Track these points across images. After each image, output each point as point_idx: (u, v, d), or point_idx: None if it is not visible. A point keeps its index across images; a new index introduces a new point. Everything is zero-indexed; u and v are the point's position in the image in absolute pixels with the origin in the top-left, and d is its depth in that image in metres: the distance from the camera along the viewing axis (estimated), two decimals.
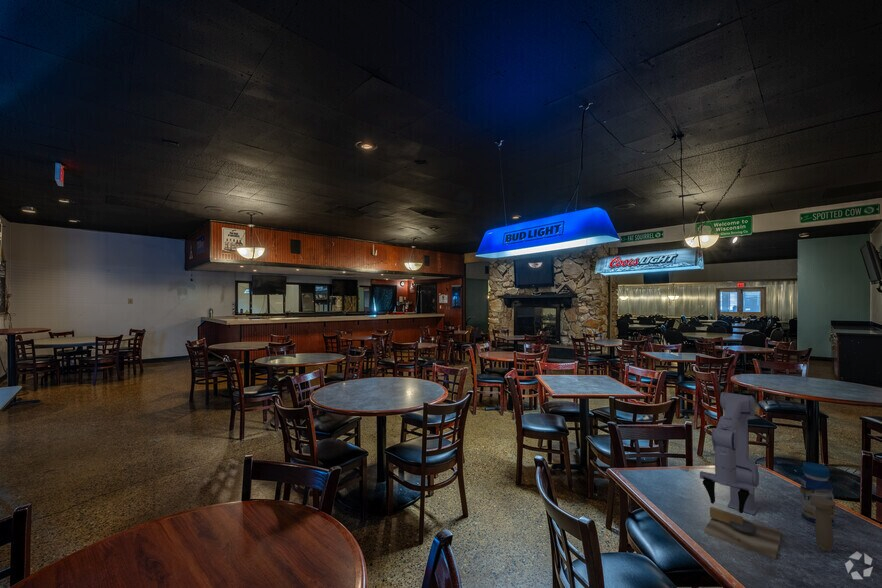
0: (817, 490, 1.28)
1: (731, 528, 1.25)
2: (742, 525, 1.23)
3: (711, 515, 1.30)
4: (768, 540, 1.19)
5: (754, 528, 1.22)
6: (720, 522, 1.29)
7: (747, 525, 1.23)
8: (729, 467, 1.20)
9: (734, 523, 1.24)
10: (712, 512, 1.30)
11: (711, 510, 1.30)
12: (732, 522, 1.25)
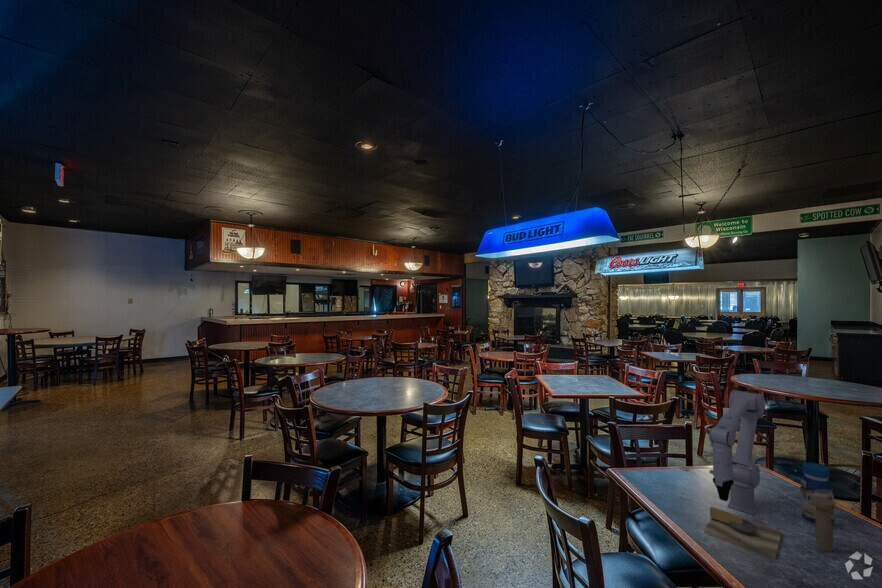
0: (817, 490, 1.28)
1: (731, 528, 1.25)
2: (742, 525, 1.23)
3: (711, 515, 1.30)
4: (768, 540, 1.19)
5: (754, 528, 1.22)
6: (720, 522, 1.29)
7: (747, 525, 1.23)
8: (724, 462, 1.30)
9: (734, 523, 1.24)
10: (712, 512, 1.30)
11: (711, 510, 1.30)
12: (732, 522, 1.25)
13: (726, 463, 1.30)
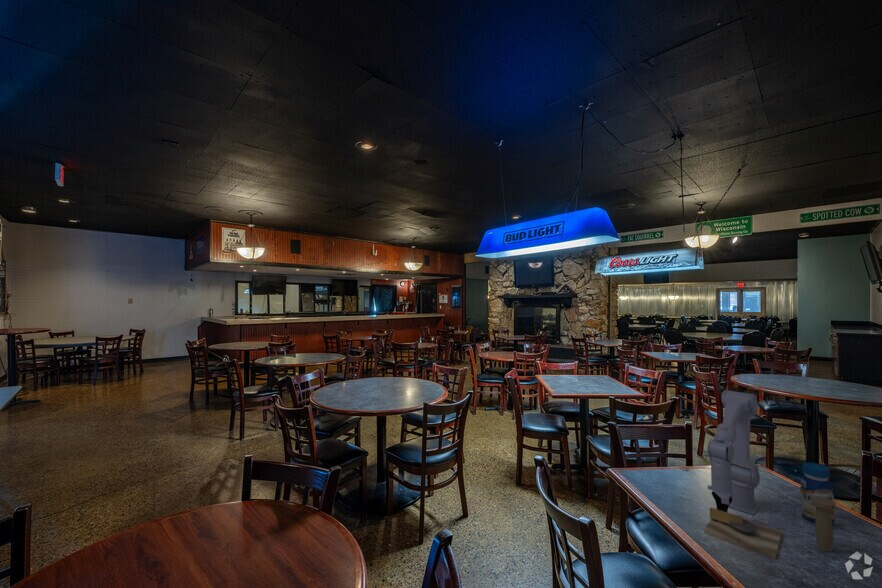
0: (817, 490, 1.28)
1: (731, 528, 1.25)
2: (742, 525, 1.23)
3: (711, 516, 1.29)
4: (768, 540, 1.19)
5: (754, 528, 1.22)
6: (720, 522, 1.29)
7: (747, 525, 1.23)
8: (723, 478, 1.27)
9: (734, 523, 1.24)
10: (712, 512, 1.29)
11: (711, 511, 1.29)
12: (732, 522, 1.25)
13: (725, 478, 1.27)
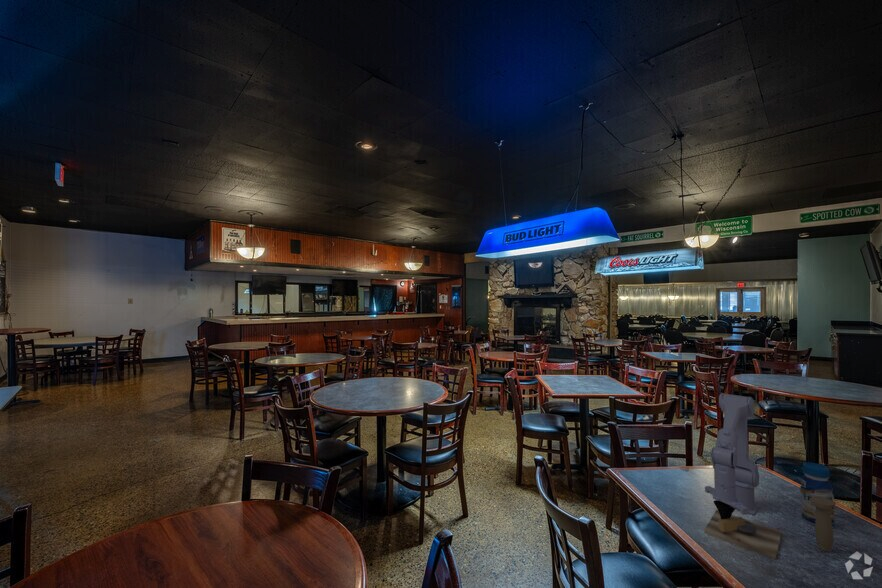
0: (817, 490, 1.28)
1: None
2: (746, 525, 1.23)
3: (724, 529, 1.22)
4: (768, 540, 1.19)
5: (751, 523, 1.24)
6: None
7: (745, 523, 1.24)
8: (728, 485, 1.22)
9: (743, 527, 1.22)
10: (725, 525, 1.22)
11: (724, 524, 1.22)
12: (741, 527, 1.22)
13: (730, 486, 1.22)
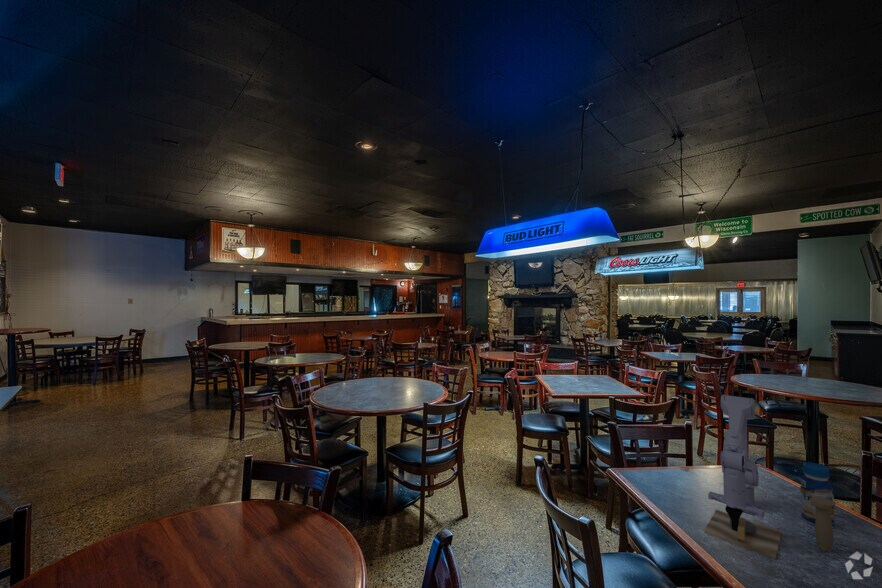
0: (817, 490, 1.28)
1: (731, 528, 1.25)
2: (747, 525, 1.23)
3: (744, 537, 1.17)
4: (768, 540, 1.19)
5: None
6: (720, 522, 1.29)
7: None
8: (739, 490, 1.19)
9: (749, 528, 1.22)
10: (744, 532, 1.18)
11: (744, 532, 1.17)
12: (748, 529, 1.21)
13: (741, 490, 1.19)
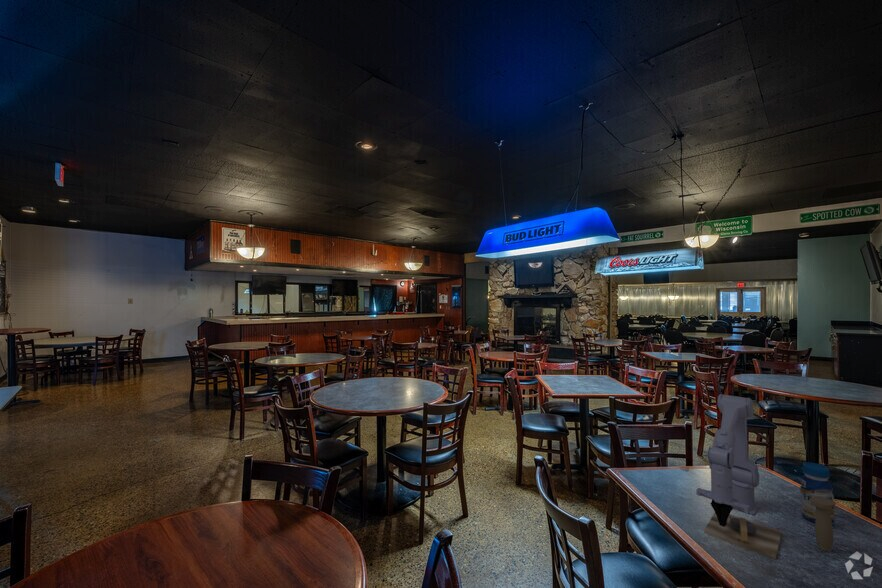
0: (817, 490, 1.28)
1: (731, 528, 1.25)
2: (747, 525, 1.24)
3: (747, 538, 1.17)
4: (768, 540, 1.19)
5: None
6: None
7: None
8: (725, 485, 1.21)
9: (749, 528, 1.22)
10: None
11: (747, 532, 1.17)
12: (748, 529, 1.21)
13: (727, 486, 1.21)
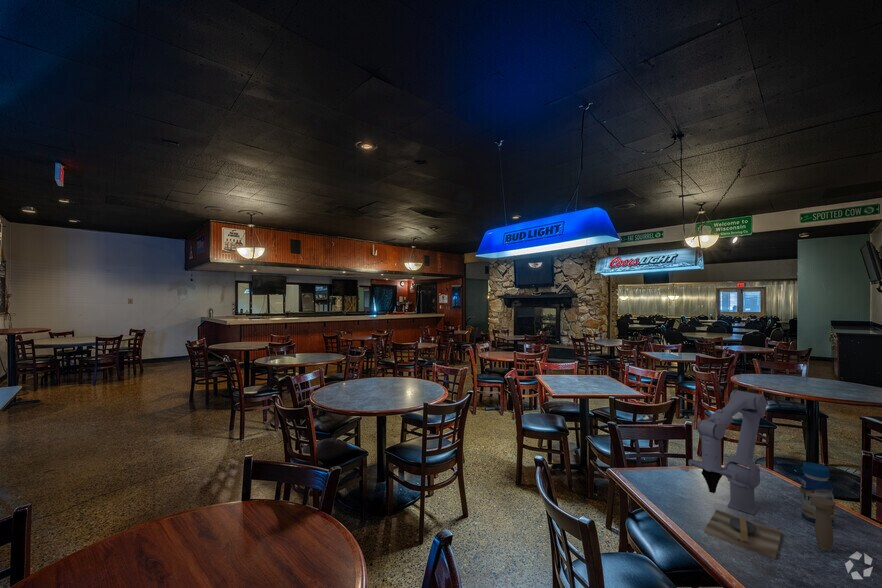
0: (817, 490, 1.28)
1: (731, 528, 1.25)
2: (747, 525, 1.24)
3: (747, 538, 1.17)
4: (768, 540, 1.19)
5: None
6: (720, 522, 1.29)
7: None
8: (711, 454, 1.32)
9: (749, 528, 1.22)
10: None
11: None
12: (749, 529, 1.21)
13: (713, 455, 1.32)
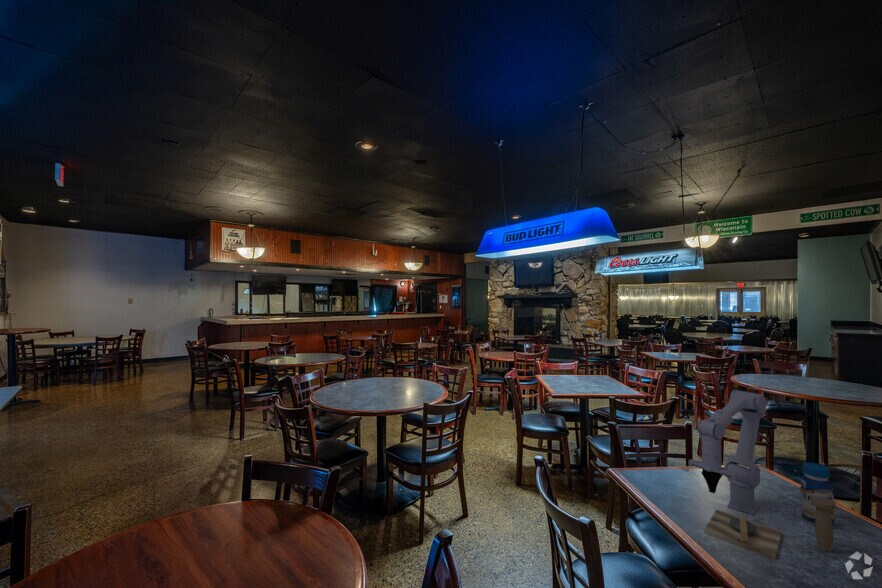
0: (817, 490, 1.28)
1: (731, 528, 1.25)
2: (747, 525, 1.24)
3: (747, 538, 1.17)
4: (768, 540, 1.19)
5: None
6: (720, 522, 1.29)
7: None
8: (711, 454, 1.32)
9: (749, 528, 1.22)
10: None
11: None
12: (749, 529, 1.21)
13: (713, 455, 1.32)
